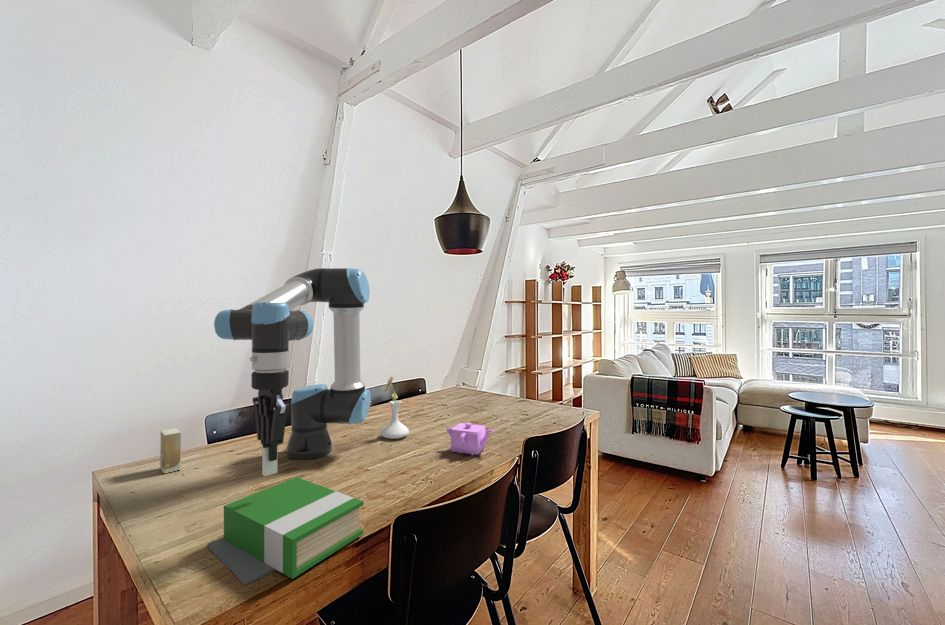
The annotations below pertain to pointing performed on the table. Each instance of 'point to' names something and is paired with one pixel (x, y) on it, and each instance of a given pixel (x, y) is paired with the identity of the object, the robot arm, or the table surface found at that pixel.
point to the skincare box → (170, 450)
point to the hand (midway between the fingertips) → (269, 473)
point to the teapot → (468, 438)
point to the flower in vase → (394, 418)
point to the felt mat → (239, 561)
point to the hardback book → (292, 524)
